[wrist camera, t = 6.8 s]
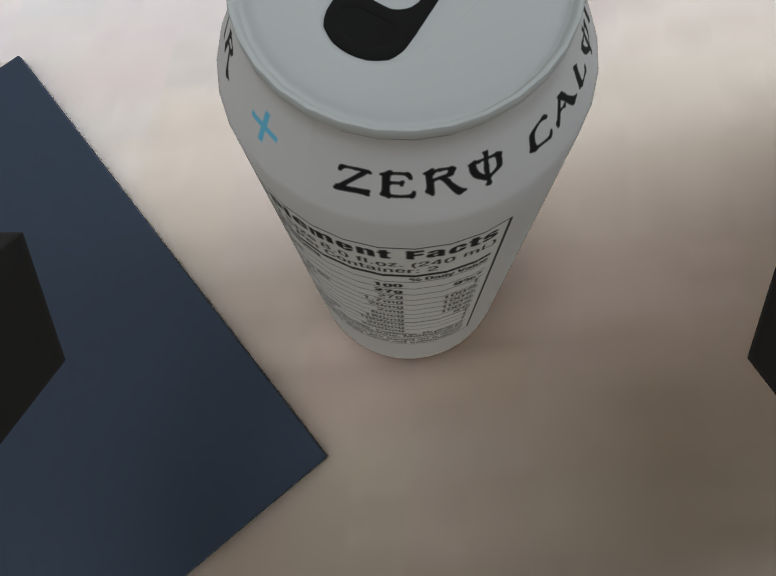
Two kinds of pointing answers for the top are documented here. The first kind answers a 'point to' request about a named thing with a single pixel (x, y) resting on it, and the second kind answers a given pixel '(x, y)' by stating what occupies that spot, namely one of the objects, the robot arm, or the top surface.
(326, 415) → the top surface
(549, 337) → the top surface
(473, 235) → the energy drink can
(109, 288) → the felt mat
